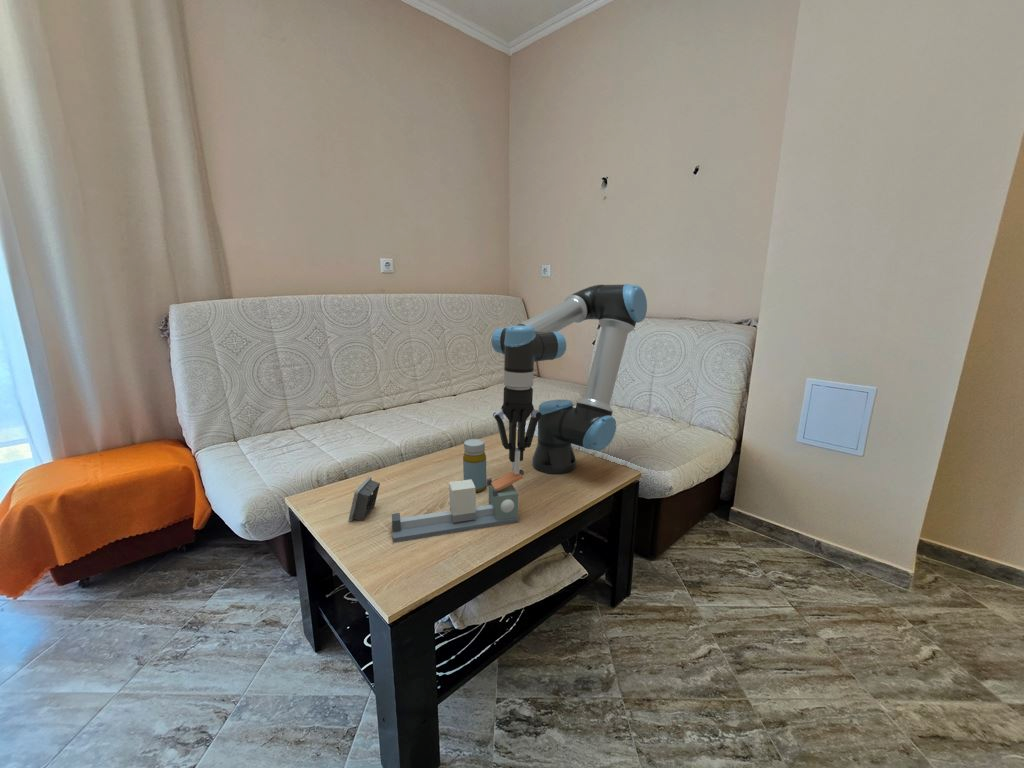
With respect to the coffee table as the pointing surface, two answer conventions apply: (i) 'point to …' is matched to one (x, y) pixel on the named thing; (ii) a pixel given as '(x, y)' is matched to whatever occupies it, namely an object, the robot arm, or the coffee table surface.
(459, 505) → the carriage
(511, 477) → the lever
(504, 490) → the rail bench
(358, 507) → the electrical switch
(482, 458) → the bottle
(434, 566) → the coffee table surface
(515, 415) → the robot arm
